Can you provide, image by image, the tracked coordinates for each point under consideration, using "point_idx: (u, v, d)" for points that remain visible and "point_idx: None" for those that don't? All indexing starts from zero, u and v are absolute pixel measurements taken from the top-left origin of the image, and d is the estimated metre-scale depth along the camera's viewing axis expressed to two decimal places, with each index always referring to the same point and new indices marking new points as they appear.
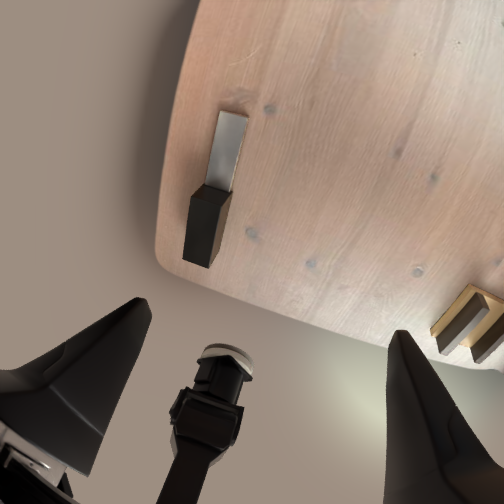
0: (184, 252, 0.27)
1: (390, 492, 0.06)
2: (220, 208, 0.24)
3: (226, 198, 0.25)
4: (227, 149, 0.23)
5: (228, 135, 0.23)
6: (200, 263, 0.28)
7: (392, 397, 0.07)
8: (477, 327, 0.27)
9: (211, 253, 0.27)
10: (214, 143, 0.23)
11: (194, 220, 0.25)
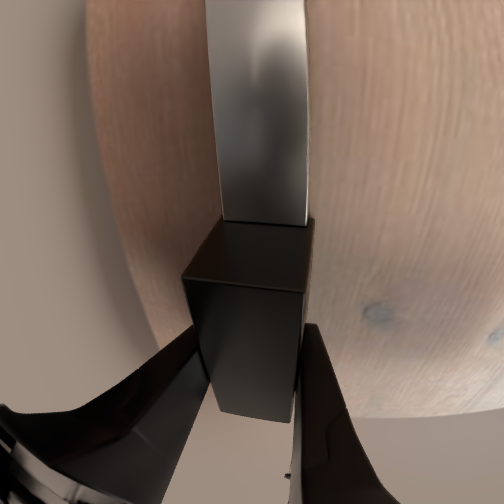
0: (220, 402, 0.10)
1: (291, 489, 0.06)
2: (301, 300, 0.06)
3: (307, 250, 0.07)
4: (263, 81, 0.06)
5: (255, 34, 0.05)
6: (266, 417, 0.10)
7: (296, 391, 0.08)
8: None
9: (291, 402, 0.09)
10: (215, 76, 0.06)
11: (220, 344, 0.07)
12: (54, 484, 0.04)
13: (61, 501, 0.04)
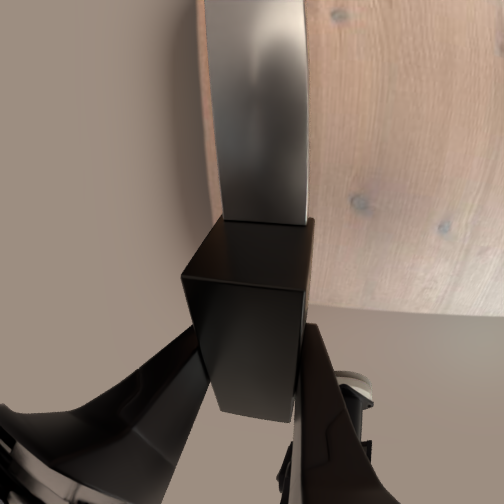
0: (220, 402, 0.10)
1: (290, 489, 0.06)
2: (301, 299, 0.06)
3: (307, 249, 0.07)
4: (262, 80, 0.06)
5: (255, 34, 0.05)
6: (267, 417, 0.10)
7: (296, 391, 0.08)
8: None
9: (291, 401, 0.09)
10: (214, 75, 0.06)
11: (220, 343, 0.07)
12: (54, 484, 0.04)
13: (61, 501, 0.04)
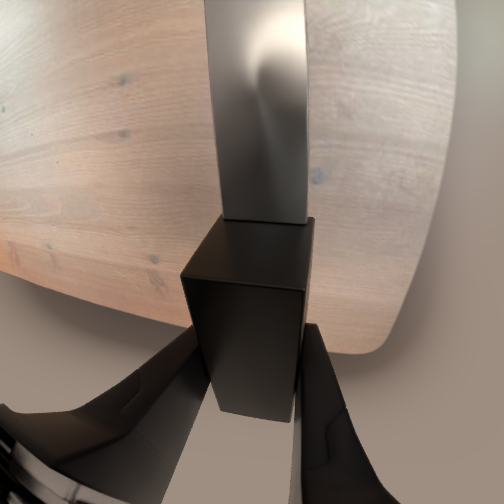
0: (220, 402, 0.10)
1: (291, 489, 0.06)
2: (301, 298, 0.06)
3: (307, 248, 0.07)
4: (262, 79, 0.06)
5: (255, 33, 0.05)
6: (267, 417, 0.10)
7: (296, 391, 0.08)
8: None
9: (291, 401, 0.09)
10: (214, 74, 0.06)
11: (220, 342, 0.07)
12: (54, 484, 0.04)
13: (61, 501, 0.04)
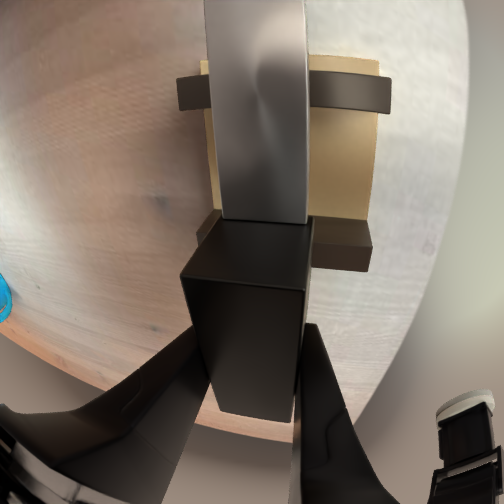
0: (220, 402, 0.10)
1: (290, 489, 0.06)
2: (301, 298, 0.06)
3: (307, 248, 0.07)
4: (262, 78, 0.06)
5: (254, 32, 0.05)
6: (267, 417, 0.10)
7: (296, 391, 0.08)
8: None
9: (291, 401, 0.09)
10: (214, 74, 0.06)
11: (220, 343, 0.07)
12: (54, 484, 0.04)
13: (61, 501, 0.04)
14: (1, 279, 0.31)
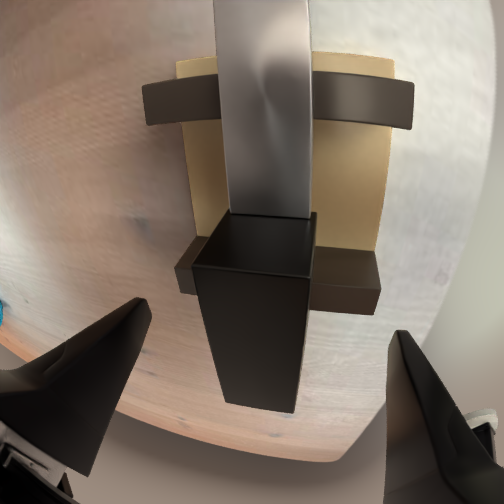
0: (225, 393, 0.10)
1: (390, 492, 0.06)
2: (306, 286, 0.06)
3: (311, 240, 0.07)
4: (269, 81, 0.06)
5: (261, 37, 0.06)
6: (271, 407, 0.10)
7: (392, 397, 0.07)
8: None
9: (295, 390, 0.09)
10: (223, 76, 0.06)
11: (228, 331, 0.08)
12: None
13: None
14: None
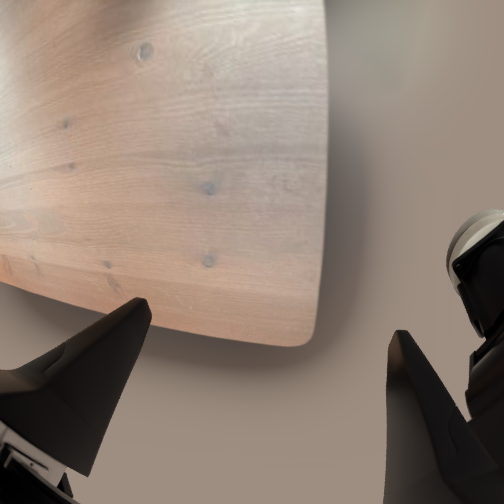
0: None
1: (390, 492, 0.06)
2: None
3: None
4: None
5: None
6: None
7: (392, 397, 0.07)
8: None
9: None
10: None
11: None
12: None
13: None
14: None
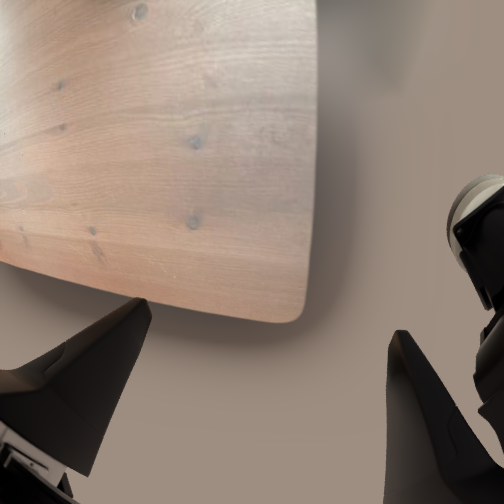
0: None
1: (390, 492, 0.06)
2: None
3: None
4: None
5: None
6: None
7: (392, 397, 0.07)
8: None
9: None
10: None
11: None
12: None
13: None
14: None
